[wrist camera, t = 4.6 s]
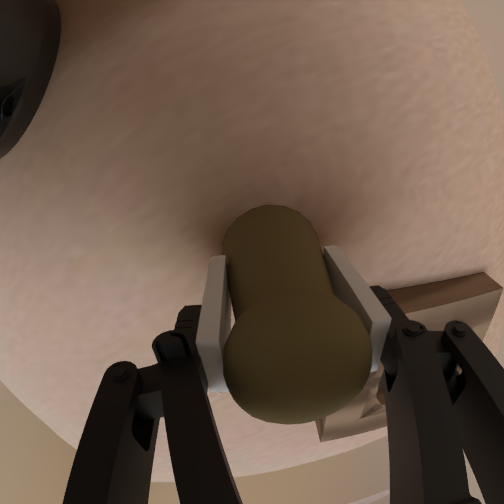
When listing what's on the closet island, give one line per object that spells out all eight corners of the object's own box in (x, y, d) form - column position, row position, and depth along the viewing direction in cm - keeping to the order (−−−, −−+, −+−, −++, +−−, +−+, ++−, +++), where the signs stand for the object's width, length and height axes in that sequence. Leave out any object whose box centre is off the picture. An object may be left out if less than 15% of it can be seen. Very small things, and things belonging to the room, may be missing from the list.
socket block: (330, 298, 19) (342, 325, 17) (484, 272, 20) (503, 288, 17) (315, 419, 26) (320, 442, 23) (437, 386, 26) (447, 403, 23)
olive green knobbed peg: (215, 210, 16) (183, 339, 6) (317, 200, 17) (418, 307, 6) (228, 298, 19) (224, 449, 9) (318, 288, 19) (376, 426, 9)
